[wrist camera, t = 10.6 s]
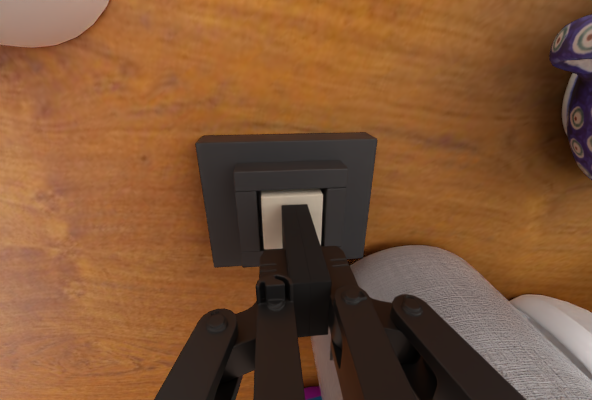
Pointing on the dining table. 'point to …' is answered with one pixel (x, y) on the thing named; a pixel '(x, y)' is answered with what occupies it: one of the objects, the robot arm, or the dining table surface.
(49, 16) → the pale pink cylinder
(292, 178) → the key block
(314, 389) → the decorative egg
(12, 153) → the dining table surface
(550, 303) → the mug
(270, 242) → the ivory key
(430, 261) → the planter
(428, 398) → the robot arm
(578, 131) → the teapot
